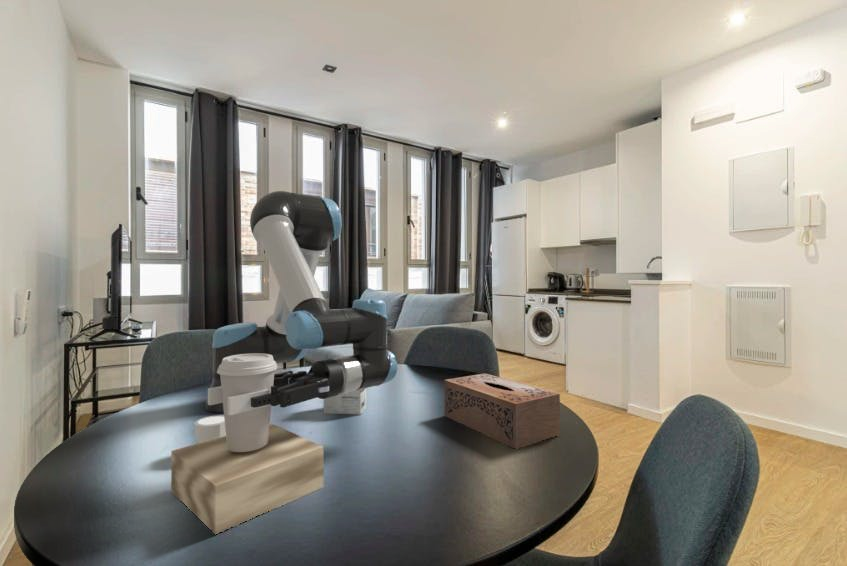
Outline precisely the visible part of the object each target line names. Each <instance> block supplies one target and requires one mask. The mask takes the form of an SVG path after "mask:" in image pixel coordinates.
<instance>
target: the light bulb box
mask: <svg viewBox="0 0 847 566" xmlns="http://www.w3.org/2000/svg"><path fill="white" fill-rule="evenodd" d="M367 406H368V405H367V388H364V389H359V390H356V391H352V392H348V395H344V394H339V395H337V396H333V397H329V398H325V399H323V414H333V415H334V414H336V415H337V414H338V415H361V414H362V413H363V412H364V411H365V410H366V408H368V407H367Z"/></svg>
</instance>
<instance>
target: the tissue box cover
mask: <svg viewBox="0 0 847 566" xmlns="http://www.w3.org/2000/svg"><path fill="white" fill-rule="evenodd" d="M560 397H561V394H560V393H557V392H555V391H551V390H546V389H544V388H540V387H536V386H533V385H529V384H525V383H521V382H519V381H513V380H511V379H508V378H505V377H504V378H503V377H501V376H496V375H493V374H490V373H486V372H485V373H480V374H479V373H478V374H473V375H467V376H461V377H460V376H459V377H455V378H447V379H444V417H445V416H446V417H445V418H447V417H448V419H449V418H451V419H453V420H452V421H454V420H455V421H454V422H456V421H457V422H456V423H458V422H459V424H460V423H461V424H460V425H462V424H464V425H466V426H467V428H469V427H470V428H469V429H471V428H472V429H471V430H473V429H474V430H473V431H475V430H476V431H475V432H477V431H478V432H477V433H479V432H481V433H483V434H482V435H483V436H486V437H488V436H489V437H488V438H490V437H491V438H490V439H492V438H493V440H494V439H495V440H494V441H496V440H497V442H498V441H500V442H499V443H501V442H502V443H501V444H503V443H504V444H503V445H505V444H506V445H505V446H507V445H508V447H509V446H510V447H509V448H511V447H512V448H511V449H513V448H515V449H514V450H518V449H517V448H519V449H521V448H520V447H522V448H524V447H523V446H526V445H529V444H532V443H535V442H538V441H541V440H544V439H547V438H551V437H553V436H557V435H561V433H560V431H561V429H560V425H561V424H560V423H561V422H560V421H561V419H560V418H561V417H560V416H561V415H560V413H561V411H560V409H561V406H560V404H561V403H560V401H561V398H560ZM451 419H450V420H451ZM464 425H463V426H464ZM466 426H465V427H466ZM481 433H480V434H481ZM557 437H558V436H557ZM551 439H552V438H551ZM544 441H545V440H544ZM541 442H542V441H541ZM538 443H539V442H538ZM535 444H536V443H535ZM532 445H533V444H532ZM529 446H530V445H529ZM526 447H527V446H526Z"/></svg>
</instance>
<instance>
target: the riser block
mask: <svg viewBox="0 0 847 566" xmlns="http://www.w3.org/2000/svg"><path fill="white" fill-rule="evenodd" d="M324 451H325V450H324V446H322V445H320V444H318V443H316V442H314V441H311V440H309V439H307V438H304V437H303V436H301V435H299V434H296V433H294V432H291V431H289V430H288V429H285V428H283V427H281V426H279V425H277V424H274V423H271V422H270V426H269V437H268V443H267V444H266V445H265V446H264V447H262V448H260V449H257V450H253V451H248V452H233V451H230V450H228V449H227V442H226V436H223V437H219V438H216V439H212V440H209V441H205V442H201V443H198V444H196V443H195V444H194V443H193V444H191V445H188V446H184V447H180V448H177V449H174V450H173V449H172V450H171V461H170V462H171V464H170V465H171V466H170V467H171V472H170V473H171V474H170V475H171V476H170V478H171V483H170V484H171V487H170V489H171V490H170V491H171V493H172V494H173V493H174V494H173V495H174V496H175V497H176V498H177V499H178V501H180V502H181V501H182V502H183V503H184V504H185V505H186V506H187V507H188V508H189V509H190V510H191V511H192V512H193V513H194V514H195V515H196V516H197V517H198V518H199V519H200V520H201V521H203V522H204V523H205V524H206V525H207V526H208V527H209V528H210V529H211V530H212V531H213V532H214V533H215V534H217V533H219V532H222V531H224V530H226V529H229V528H231V527H233V526H236V525H238V524H240V523H242V522H244V521H246V520H249V519H251V520H253V519H252V518H254V517H255V516H258V515H260V514H263V513H265V514H266V512H267V513H269V512H271V511H274V510H276V509H277V508H280V507H283V506H284V505H287V504H289V503H291V502H293V501H295V500H298V499H301V498H303V497H305V496H307V495H309V494H311V493H314V492H315V491H318V490H320V489H322V488H324V479H325V478H324V475H325V474H324V468H325V467H324V463H325V462H324ZM182 502H181V503H182ZM183 503H182V504H183ZM184 504H183V505H184ZM185 505H184V506H185ZM282 505H283V506H282ZM186 506H185V507H186ZM187 507H186V508H187ZM188 508H187V509H188ZM275 508H276V509H275ZM189 509H188V510H189ZM273 509H274V510H273ZM190 510H189V511H190ZM191 511H190V512H191ZM268 511H269V512H268ZM192 512H191V513H192ZM193 513H192V514H193ZM194 514H193V515H194ZM195 515H194V516H195ZM263 515H264V514H263ZM196 516H195V517H196ZM260 516H261V515H260ZM197 517H196V518H197ZM258 517H259V516H258ZM198 518H197V519H198ZM199 519H198V520H199ZM254 519H255V518H254ZM200 520H199V521H200ZM201 521H200V522H201ZM249 521H250V520H249ZM240 525H241V524H240ZM238 526H239V525H238ZM236 527H237V526H236ZM231 529H232V528H231ZM229 530H230V529H229Z"/></svg>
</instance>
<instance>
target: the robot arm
mask: <svg viewBox="0 0 847 566" xmlns="http://www.w3.org/2000/svg"><path fill="white" fill-rule="evenodd" d="M249 218H250V219H249V224H250V225H249V227H250V230H251V234H252V235H253V237H254V239H255V241H256V242H257V243H258V244H260V245H261V246H262V248H263V250H264V252H265V255H266V258H267V260H268V262H269V265H270V267H271V269H272V271H273V274H274V277H275V279H276V281H277V284H278V286H279V290H278V293H277V299H276V303H275V307H274V311H273V314H271V315H269V316H268V317H267V319H266V322H265V325H264V326H258V324H257V323H256V322H254V321H253V322H251V321H250V322H239V323H233V324H229V325H225V326H221V327H218V328H217V329H216V330H215V331H214V332H213V335H212V345H211V347H212V381H211V382H212V383H211V385H210V388H209V387H208V388H207V396H206V399H205V409H206V411H208V412H211V413H218V414H221V413H223V414H224V409H223V398H222V387H221V377H220V374H218V373H217V370H218V368H219V365H221V363H222V360H223V358H225V357H228V356H233V355H239V354H252V353H262V354H270V355H272V356H273V359H274V361H275V362H276V364H283V363H292V362H294V361H299V360H301V359H302V358H304V357H305V356H306V355H307V354H306V353H307V352H308V350H317V349H319V348H320V349H321V348H327V347H335V346H345V345H352V351H353V353H352V355H345V356H340V357H339V356H338V357H333V358H329V359H328V358H327V359H323V360H321V359H320V360H317V361H315V362H314V363H312V365H311V367H310V368H309V371H308V372H307V370H300V371H297V372H294V371H293V370H288V371H284V372H279V373H274V383H273V387H272V386H271V393H270V394H269V390H268V389H267V390H263V391H259V392H253V393H245V394H241V395H236V396H231V397H228V415H233V414H238V413H242V412H246V411H250V410H254V409H258V408H263V407H267V406H269V404H271V407H276V406H279V407H280V408H286V407H289V406H293V405H297V404H300V403H303V402H307V401H310V400H313V399H317V398H318V399H320V400H324V399H325V398H329V397H333V396H337V395H339V394H344V395H348V392H352V391H356V390H359V389H364V388H366V389H367V388H372V387H379V386H380V385H383V384H387V383H389V382H391V381H392V380H394V379H395V377H396V375H397V373H398V370H399V369H398V362H397V359H396V356H395V354H394V353H393V352H392V351H390V350H388V346H387V332H388V331H387V330H388V312H387V304H386V302H385V301H384V300H383V299H377V298H375V299H373V298H372V299H371V298H369V299H368V298H367V299H366V298H364V299H355V300H353V301H352V306H351V308H343V309H342V308H341V309H330V306H329V305H328V303H327V301H326V299H325V297H324V295H323V292H322V290H321V288H320V287H319V284H318V283H317V281H316V278H315V274H316V271H317V266H318V262H319V260H320V254H321V253H323V252H325V251H326V250H327V249H328V246H329V241H330V242H334V241H335V240H337V239H338V238H339V237H340V235H341V233H342V226H343V223H342V214H341V211H340V208H339V206H338V204H337V203H336V202H335V201H334V200H333V199H330V198H326V197H322V196H320V195H317V196H316V195H311V194H310V195H309V194H304V193H295V192H290V191H285V190H278V191H277V190H276V191H272V192H269V193H267V194H265V195H263V196H262V197H261V198H259V200H257V202H256V203H255V204H254V206H253V208H252V210H251V213H250V217H249Z"/></svg>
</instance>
